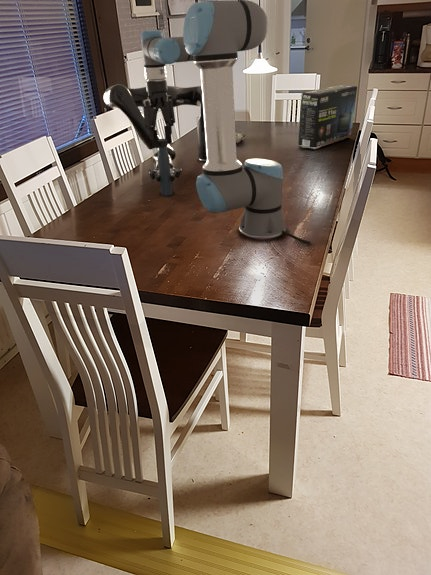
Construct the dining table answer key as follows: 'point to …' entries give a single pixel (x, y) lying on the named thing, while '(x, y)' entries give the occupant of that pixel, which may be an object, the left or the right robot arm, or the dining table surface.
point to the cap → (162, 142)
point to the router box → (326, 115)
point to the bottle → (164, 172)
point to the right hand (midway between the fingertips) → (162, 145)
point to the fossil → (239, 136)
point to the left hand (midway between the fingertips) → (165, 179)
